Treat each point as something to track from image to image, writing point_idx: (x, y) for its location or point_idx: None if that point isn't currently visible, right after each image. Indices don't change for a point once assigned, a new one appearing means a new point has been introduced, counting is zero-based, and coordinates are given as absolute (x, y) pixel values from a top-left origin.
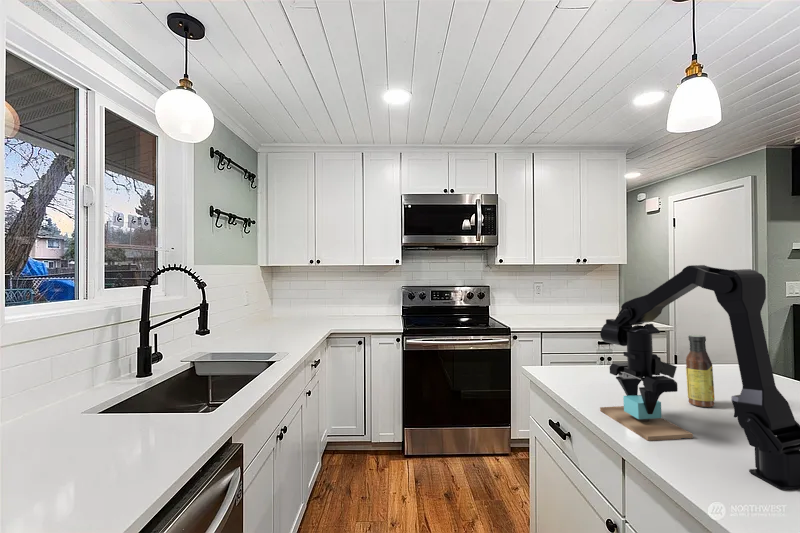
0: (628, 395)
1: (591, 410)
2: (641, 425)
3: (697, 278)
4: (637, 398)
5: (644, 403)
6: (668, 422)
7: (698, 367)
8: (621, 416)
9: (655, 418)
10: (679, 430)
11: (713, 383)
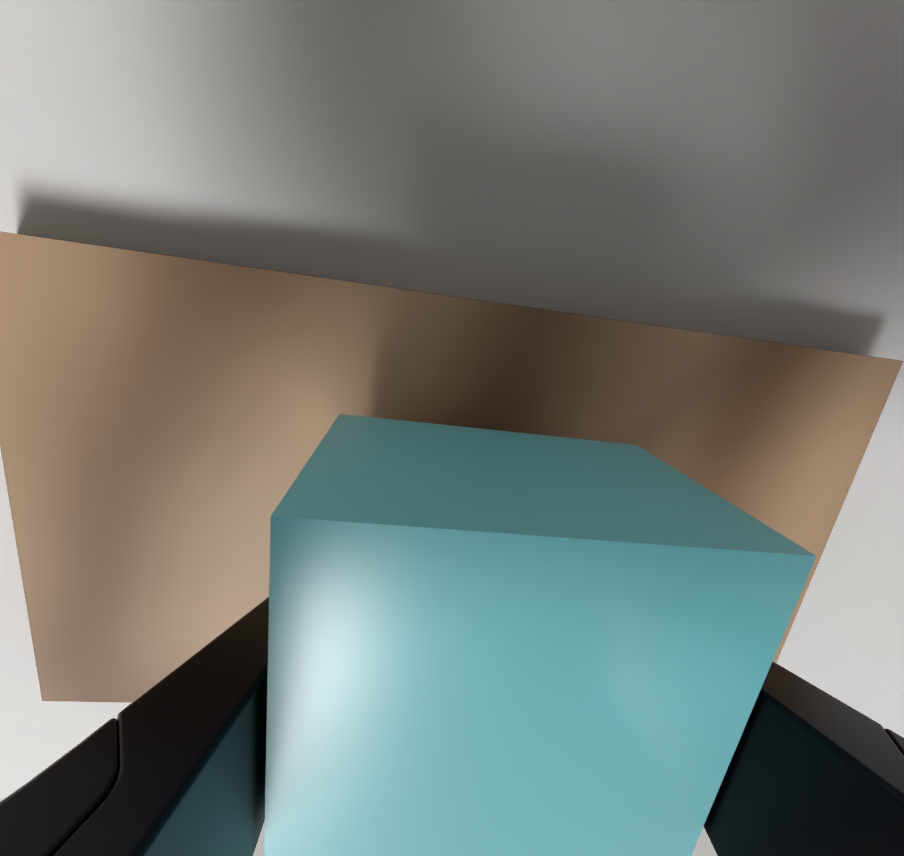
0: (253, 838)
1: (54, 725)
2: None
3: None
4: (469, 796)
5: (723, 832)
6: (617, 343)
7: None
8: None
9: (482, 388)
10: (797, 410)
11: None
